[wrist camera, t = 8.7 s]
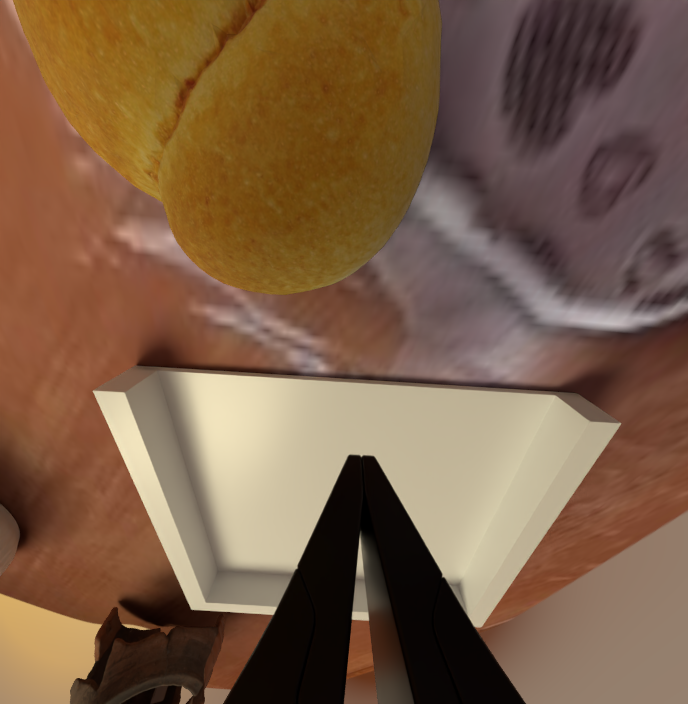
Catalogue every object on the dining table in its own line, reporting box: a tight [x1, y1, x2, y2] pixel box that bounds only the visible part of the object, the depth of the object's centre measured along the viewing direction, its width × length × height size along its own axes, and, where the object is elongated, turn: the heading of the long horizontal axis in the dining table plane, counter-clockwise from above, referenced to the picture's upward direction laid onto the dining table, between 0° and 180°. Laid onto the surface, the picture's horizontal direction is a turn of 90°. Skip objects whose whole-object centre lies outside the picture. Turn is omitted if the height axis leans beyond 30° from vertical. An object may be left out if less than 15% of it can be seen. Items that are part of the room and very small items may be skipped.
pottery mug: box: [70, 607, 224, 704], centre depth 19 cm, size 12×9×8 cm
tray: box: [93, 366, 621, 627], centre depth 14 cm, size 20×18×2 cm
